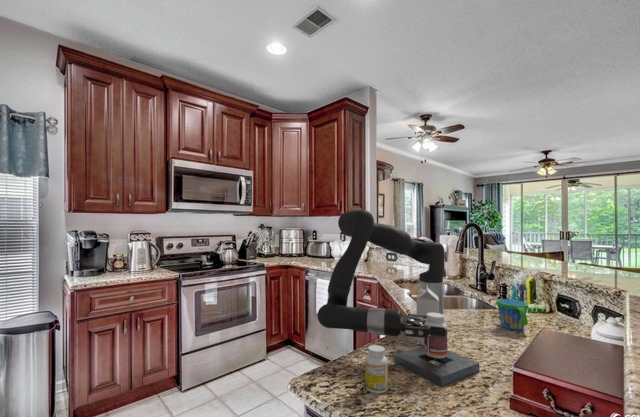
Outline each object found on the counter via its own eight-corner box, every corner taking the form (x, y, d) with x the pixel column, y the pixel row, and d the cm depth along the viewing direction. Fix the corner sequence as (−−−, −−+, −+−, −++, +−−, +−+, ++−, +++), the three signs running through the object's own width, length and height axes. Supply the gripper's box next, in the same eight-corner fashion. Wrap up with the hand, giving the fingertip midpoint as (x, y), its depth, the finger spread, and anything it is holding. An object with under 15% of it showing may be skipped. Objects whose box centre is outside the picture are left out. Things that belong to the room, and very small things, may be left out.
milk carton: (438, 340, 109) (437, 285, 110) (439, 347, 102) (438, 288, 103) (417, 337, 111) (416, 283, 112) (416, 344, 104) (416, 287, 106)
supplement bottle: (380, 396, 72) (380, 354, 73) (361, 389, 76) (361, 348, 76) (391, 387, 76) (391, 347, 77) (372, 380, 80) (372, 342, 80)
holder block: (394, 363, 90) (394, 354, 90) (430, 351, 98) (430, 343, 99) (441, 387, 76) (441, 377, 77) (479, 372, 85) (479, 362, 85)
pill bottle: (452, 355, 87) (452, 315, 87) (438, 361, 83) (438, 319, 84) (433, 348, 92) (433, 310, 92) (419, 352, 88) (419, 313, 89)
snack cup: (538, 336, 114) (537, 307, 114) (507, 334, 115) (506, 306, 116) (517, 323, 129) (516, 298, 130) (490, 321, 131) (489, 297, 131)
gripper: (381, 315, 86) (446, 322, 80) (386, 303, 99) (443, 308, 94) (381, 343, 85) (446, 351, 80) (386, 327, 99) (443, 333, 94)
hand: (444, 328), depth 87 cm, fingers closed on pill bottle, 6 cm apart
